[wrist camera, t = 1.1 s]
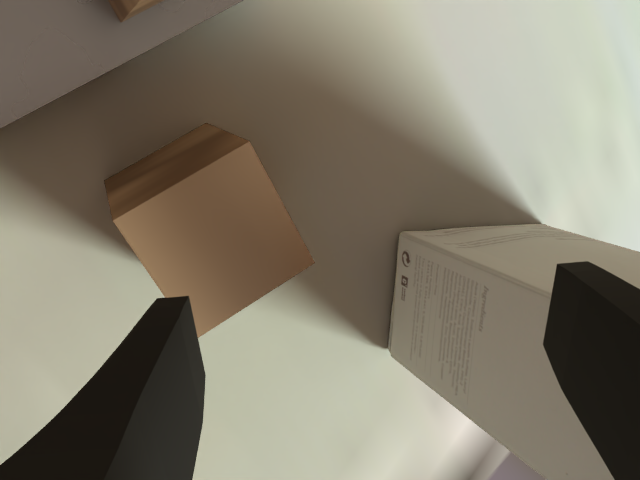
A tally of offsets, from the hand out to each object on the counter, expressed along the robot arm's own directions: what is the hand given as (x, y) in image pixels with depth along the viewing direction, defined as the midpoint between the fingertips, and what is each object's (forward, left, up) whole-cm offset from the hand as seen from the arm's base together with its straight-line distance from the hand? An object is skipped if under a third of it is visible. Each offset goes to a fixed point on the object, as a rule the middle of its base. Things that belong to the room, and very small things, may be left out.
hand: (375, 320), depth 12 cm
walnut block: (-1, +1, -12) cm, 12 cm away
